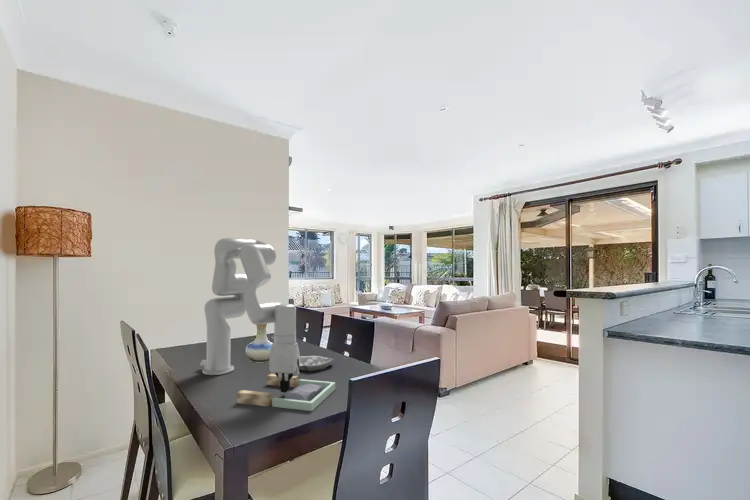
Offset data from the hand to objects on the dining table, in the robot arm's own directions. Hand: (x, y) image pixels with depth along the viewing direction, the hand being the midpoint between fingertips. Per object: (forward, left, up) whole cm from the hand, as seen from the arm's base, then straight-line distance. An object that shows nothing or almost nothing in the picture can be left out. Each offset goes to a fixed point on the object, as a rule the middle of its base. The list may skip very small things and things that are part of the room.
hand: (284, 391), depth 128 cm
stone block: (+7, -1, -2) cm, 8 cm away
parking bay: (+8, 0, -1) cm, 8 cm away
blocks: (-6, 0, -1) cm, 6 cm away
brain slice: (-6, +34, -2) cm, 35 cm away
